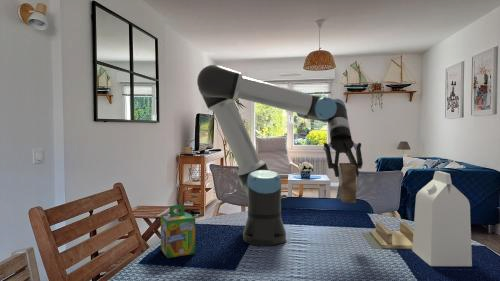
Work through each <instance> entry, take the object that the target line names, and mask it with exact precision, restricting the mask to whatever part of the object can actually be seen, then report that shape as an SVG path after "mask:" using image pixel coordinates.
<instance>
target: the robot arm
mask: <svg viewBox="0 0 500 281" xmlns="http://www.w3.org/2000/svg"><path fill="white" fill-rule="evenodd" d="M196 80H197V83H196V84H197V87H198V91H199V93H200V95H201V96H202V99H203V101H204V103H205V106H206V107H207V110H209V111H211V112H213V113H214V115H215V117H216V120H217V122H218V124H219V127H220V129H221V130H222V133H223V135H224V138H225V140H226V142H227V144H228V146H229V149H230V151H231V153H232V156H233V158H234V160H235V163H236V165H237V167H238V168H239V169H238V172H237V176H238V179H239V180H240V183H241V186H242V187H243V190H244V193H245V194H246V196H247V218H246V222H245V225H244V228H243V232H242V240H243V241H244V242H245V243H247V244H249V245H254V246H260V247H261V246H262V247H267V246H268V247H269V246H277V245H281V244H283V243H285V242H286V241H287V232H286V229H285V226H284V225H285V224H284V223H283V219H282V179H281V175H280V174H279V173H278V172H276V171H273V170H269V167H268V166H267V164H266V161H265V160H261V159H260V157H259V154H258V152H257V151H256V149H255V148H256V147H255V145H254V144H253V143H254V142H253V141H252V140H251V137H250V134H249V132H248V130H247V128H246V125H245V124H244V121H243V119H242V117H241V114H240V112H239V109H238V108H237V106H236V103H235V101H236V99H241V100H245V101H249V102H253V103H256V104H261V105H265V106H268V107H272V108H277V109H280V110H284V111H287V112H290V113H291V112H292V113H296V116H297V117H298V118H302V119H304V120H306V119H307V120H313V121H319V122H325V123H327V125H328V130H329V131H328V133H329V138H330V142H329V143H327V142H324V143H323V151H324V152H325V155H326V156H325V157H326V162H327V168H328V169H329V170H330V169H332V170H333V172H334V177H336V178H338V187H339V186H342V183H343V180H342V173H341V167H340V166H339V161H340V160H339V158H340V154H345V156H347V159H348V161H349V163H352V164H354V165H355V166H356V187H357V185H358V182H359V180H358V178H359V175H360V174H359V173H360V172H359V170H360V169H361V170H362V168H363V164H364V162H363V157H362V151H361V148H362V143H361V142H358V143H355V142H354V140H353V139H352V138H353V137H352V133H351V129H350V128H351V127H350V124H349V118H348V112H347V111H348V110H347V107H346V104H345V102H344V101H343V100H342V99H339V98H331V97H328V96H318V95H314V94H311V93H308V92H307V93H306V92H303V91H299V90H296V89H291V88H288V87H285V86H281V85H277V84H272V83H269V82H266V81H262V80H258V79H254V78H250V77H247V76H243V74H242V73H241V72H240V71H237V70H233V69H231V68H227V67H223V66H221V65H219V64H218V65H216V64H211V65H206V66H205V67H203V68H202V69H201V70H200V71H199V74H198V75H197V79H196ZM353 147H354V150H355V156H356V158H355V156H354V153H353V151H352V149H353ZM331 149H333V150H334V151H335V156H334V163H333V158H332V154H331Z"/></svg>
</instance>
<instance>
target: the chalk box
mask: <svg viewBox="0 0 500 281" xmlns="http://www.w3.org/2000/svg"><path fill="white" fill-rule="evenodd" d="M168 208H169V213H166V214H161V215H159V216H160V251H162V253H163V254H164V256H165V257H166V258H167V259H171V258H177V257H182V256H190V255H195V254H196V218H195V217H194V216H193V215H192V214H190V213H188V212H186V211H185V206H184V204H175V205H170V206H168ZM176 209H178V210H180V211H179V212H175V210H176Z"/></svg>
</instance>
